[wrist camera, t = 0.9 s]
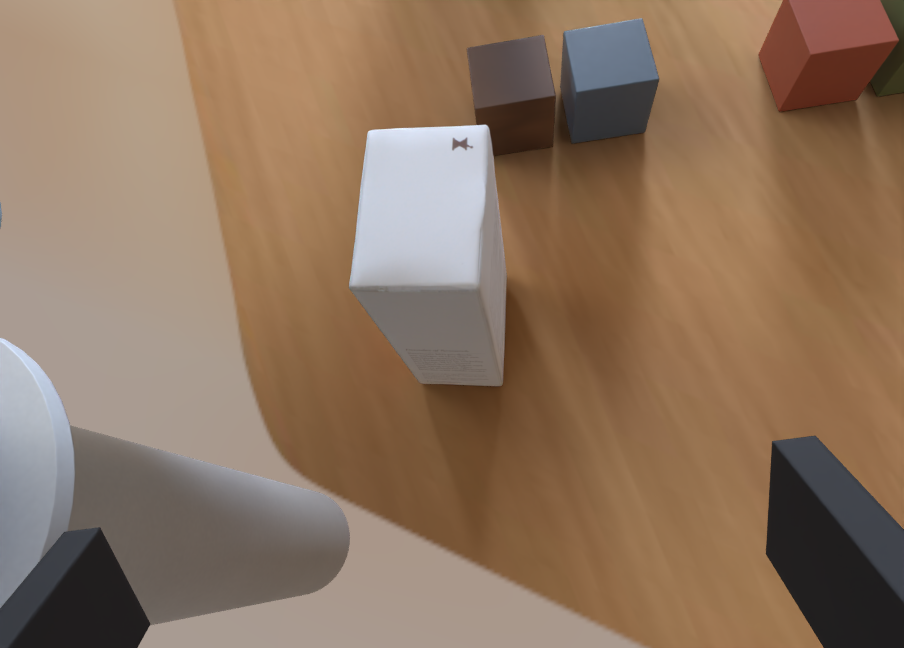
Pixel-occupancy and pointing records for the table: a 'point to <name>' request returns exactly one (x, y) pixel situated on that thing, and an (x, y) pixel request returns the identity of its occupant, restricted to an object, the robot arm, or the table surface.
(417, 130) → the cosmetic box
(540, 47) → the block
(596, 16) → the table surface
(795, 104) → the block
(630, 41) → the block
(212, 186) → the table surface
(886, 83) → the block
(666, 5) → the table surface
